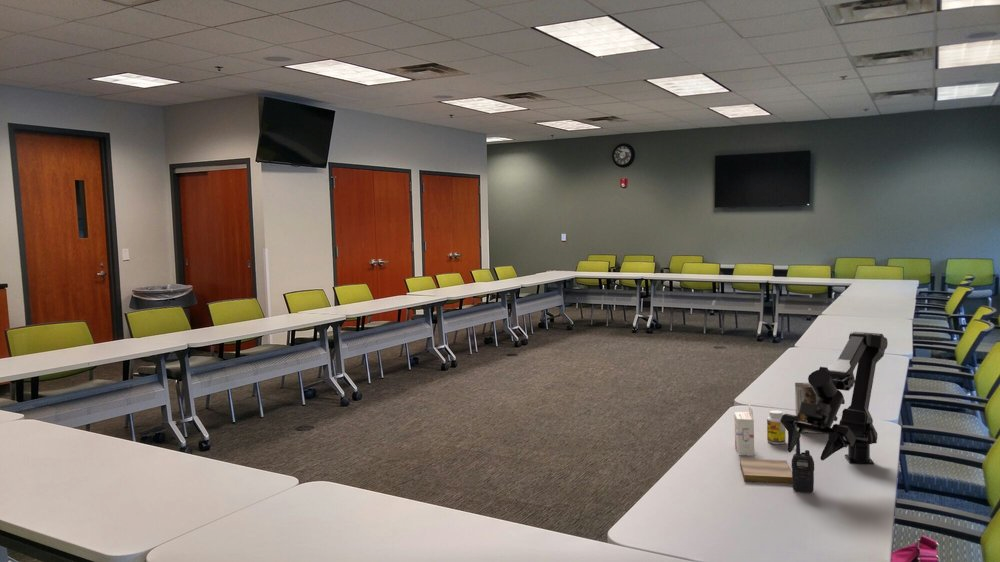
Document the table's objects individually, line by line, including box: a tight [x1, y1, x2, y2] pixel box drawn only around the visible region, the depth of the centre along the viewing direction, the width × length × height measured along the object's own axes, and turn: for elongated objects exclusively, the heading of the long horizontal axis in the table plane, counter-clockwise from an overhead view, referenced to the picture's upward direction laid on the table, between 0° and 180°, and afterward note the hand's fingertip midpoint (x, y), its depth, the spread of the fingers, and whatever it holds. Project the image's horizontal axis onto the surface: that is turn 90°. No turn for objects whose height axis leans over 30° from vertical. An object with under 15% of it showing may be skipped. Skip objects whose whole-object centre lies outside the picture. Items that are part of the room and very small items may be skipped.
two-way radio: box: [791, 436, 815, 494], centre depth 179 cm, size 6×4×15 cm
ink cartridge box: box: [733, 402, 755, 457], centre depth 212 cm, size 9×5×15 cm, turn 168°
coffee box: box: [794, 382, 819, 434], centre depth 231 cm, size 9×6×16 cm
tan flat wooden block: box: [739, 458, 793, 485], centre depth 192 cm, size 14×13×2 cm
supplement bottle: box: [766, 410, 787, 445], centre depth 220 cm, size 6×6×10 cm
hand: (804, 455), depth 179 cm, fingers open, 9 cm apart
